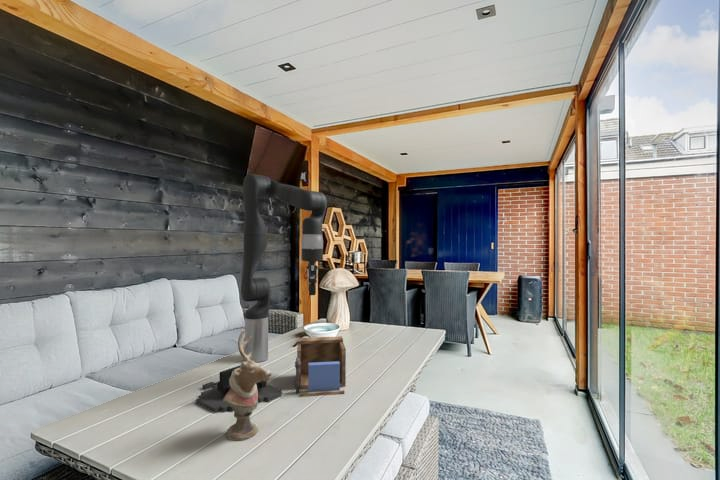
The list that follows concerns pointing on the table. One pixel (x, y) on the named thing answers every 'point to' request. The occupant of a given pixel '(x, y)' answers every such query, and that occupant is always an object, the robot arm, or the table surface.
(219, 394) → the abstract sculpture
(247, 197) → the robot arm
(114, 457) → the table surface
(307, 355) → the cabinet
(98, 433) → the table surface
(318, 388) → the blue rectangular block
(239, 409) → the decorative bust
